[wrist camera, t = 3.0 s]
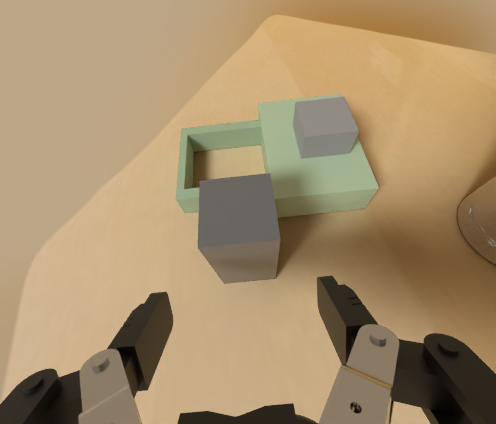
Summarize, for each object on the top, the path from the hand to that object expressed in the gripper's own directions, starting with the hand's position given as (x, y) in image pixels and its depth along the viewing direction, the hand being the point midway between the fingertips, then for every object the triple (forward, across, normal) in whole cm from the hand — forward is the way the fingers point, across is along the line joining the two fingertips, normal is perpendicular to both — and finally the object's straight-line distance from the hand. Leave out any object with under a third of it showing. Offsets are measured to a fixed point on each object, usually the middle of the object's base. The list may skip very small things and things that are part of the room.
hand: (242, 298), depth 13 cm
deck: (+19, -3, -5) cm, 20 cm away
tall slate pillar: (+11, 0, +3) cm, 12 cm away
